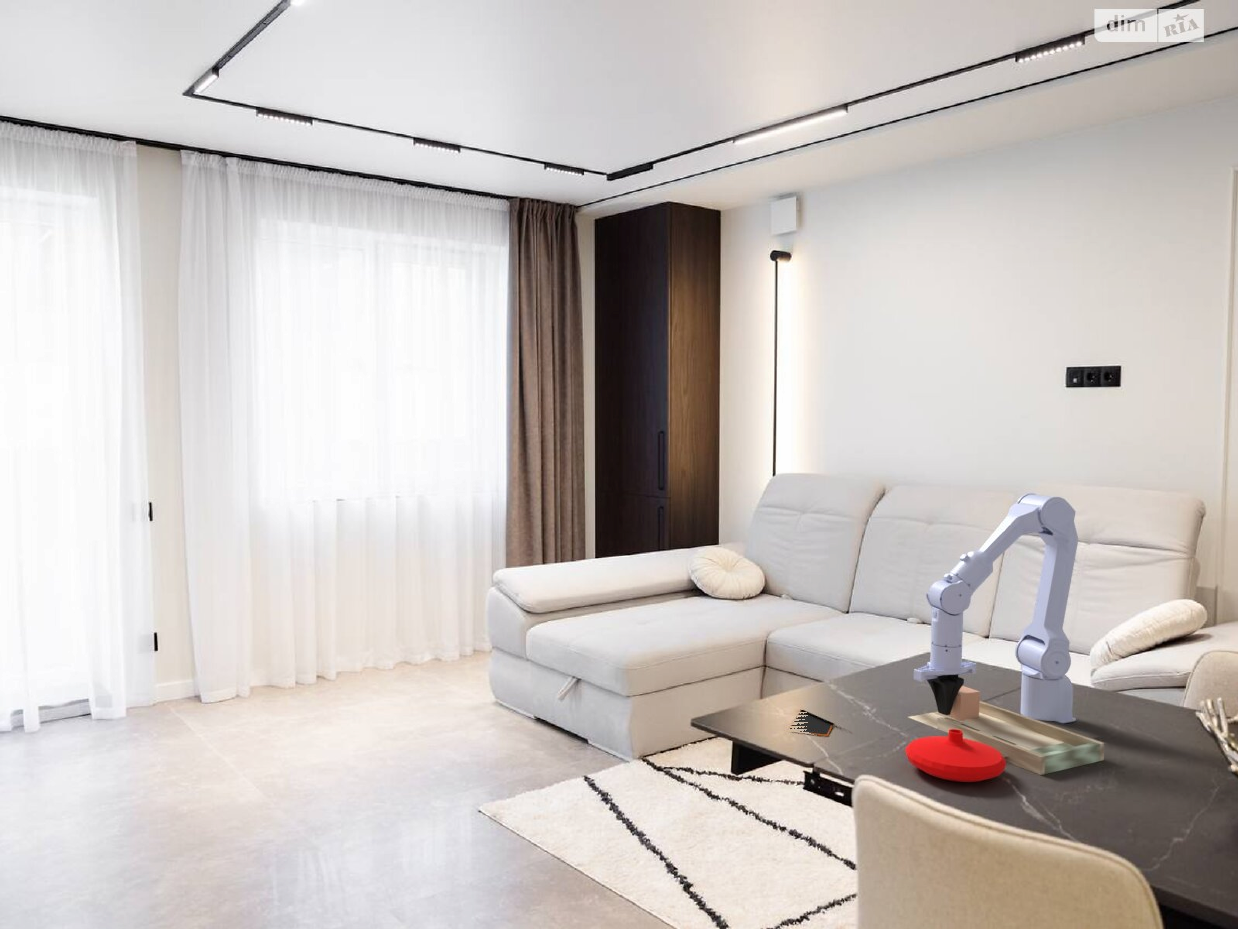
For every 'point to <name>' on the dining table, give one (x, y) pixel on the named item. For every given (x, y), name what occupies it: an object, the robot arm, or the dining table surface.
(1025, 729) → the tray
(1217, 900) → the dining table surface
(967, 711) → the peach block
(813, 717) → the smartphone
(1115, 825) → the dining table surface
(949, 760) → the red disc with nozzle
